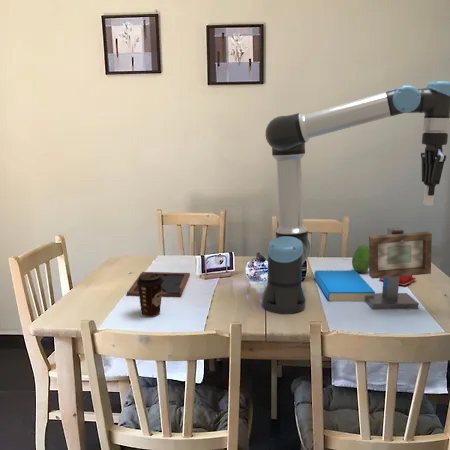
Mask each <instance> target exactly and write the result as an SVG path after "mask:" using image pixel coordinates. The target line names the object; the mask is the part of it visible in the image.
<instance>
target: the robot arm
mask: <svg viewBox="0 0 450 450" xmlns="http://www.w3.org/2000/svg"><path fill="white" fill-rule="evenodd" d="M416 113H417V114H422V113H423V114H424V116H423V126H422V131H424V132H423V133H422V135H421V136H422V137H421V144H422V145H425V148H424V152H420V158H421V159H420V160H421V182H422V183H423V184H424V189H423V190H424V191H423V203H422V205H423V206H434V201H435V192H436V191H435V190H436V186H437V185H440V182H441V177H442V174H443V173H442V172H443V169H444V164H445V162H446V160H447V155H446V154H445V155H444V154H443V146H446V145H447V144H448V139H449V134H448V133H447V132H448V131H449V128H450V127H449V126H450V81H442V80H441V81H430V82H427V86H426V87H425V88H417V87H415V85H410V84H406V85H405V84H404V85H403V86H400V87H398V88H393V89H392V88H391V89H388V90H387V91H383V92H380V93H376V94H372V95H369V96H367V97H363V98H362V97H361V98H359V99H357V100H356V99H355V100H351V101H348V102H345V103H341V104H337V105H335V106H330V107H326V108H324V109H320V110H317V111H313V112H310V113H307V114H304V113H302V112H297V113H294V114H289V115H288V114H287V115H279V116H276V117H274V118H273V119H271V120H270V121H269V122H268V124H267V126H266V130H265V139H266V142H267V143H268V145H269V146H270V147H271V153H272V157H273V158H274V159H275V160H276V170H277V171H276V173H277V174H276V175H277V191H278V193H277V196H278V199H277V200H278V216H279V218H278V219H279V221H278V222H279V226H278V227H277V228H276V230H275V237H274V238H272V239H271V240H270V241H269V244H268V248H267V284H266V286H265V288H264V291H263V295H262V297H261V306H262V307H263V309H265V310H267V311H269V312H271V313H276V314H284V313H289V314H296V313H295V312H297V313H300V312H302V311H304V310H305V309H306V305H307V304H306V303H307V302H306V298H305V295H304V289H303V286H302V275H303V274H302V273H303V265H304V263H305V261H306V260H307V259H308V257H309V255H310V252H311V243H310V239H309V232H308V231H309V229H308V227H306V226H305V225H304V212H303V211H304V207H303V206H304V205H303V177H302V173H303V172H302V158H304V157H305V155H306V143H308V141H310V140H311V138H312V139H313V138H315V137H320V136H323V135H326V134H330V133H334V132H338V131H341V130H345V129H350V128H353V127H356V126H357V127H358V126H360V125H364V124H368V123H371V122H375V121H379V120H383V119H386V118H390V117H395V116H398V115H402V114H416ZM304 308H305V309H304ZM303 309H304V310H303ZM299 311H300V312H299Z"/></svg>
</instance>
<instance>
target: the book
mask: <svg viewBox="0 0 450 450" xmlns="http://www.w3.org/2000/svg"><path fill="white" fill-rule="evenodd" d="M313 277H314V280H315V281H316V282H317V284H318V286H319V287H320V289H321V290H322V292H323V294H324V296H325V297H326V298H327V300H329V301H330V302H365V296H374V293H376V291H375V290H374V289H373V288H372V287H371V286H370V285H369V283H367V281H366V280H365V279H364V278H363V277H362V276H361V274H359V272H357V271H355V270H315V272H314V273H313ZM331 300H332V301H331Z"/></svg>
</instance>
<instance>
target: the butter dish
mask: <svg viewBox="0 0 450 450" xmlns="http://www.w3.org/2000/svg"><path fill="white" fill-rule="evenodd" d="M383 279H384V278H378V280H381V281H383ZM414 281H416V277H414V276H413V275H410V276H400V277H399V286H406V285H409V284H410V283H411V282H414Z"/></svg>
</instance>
